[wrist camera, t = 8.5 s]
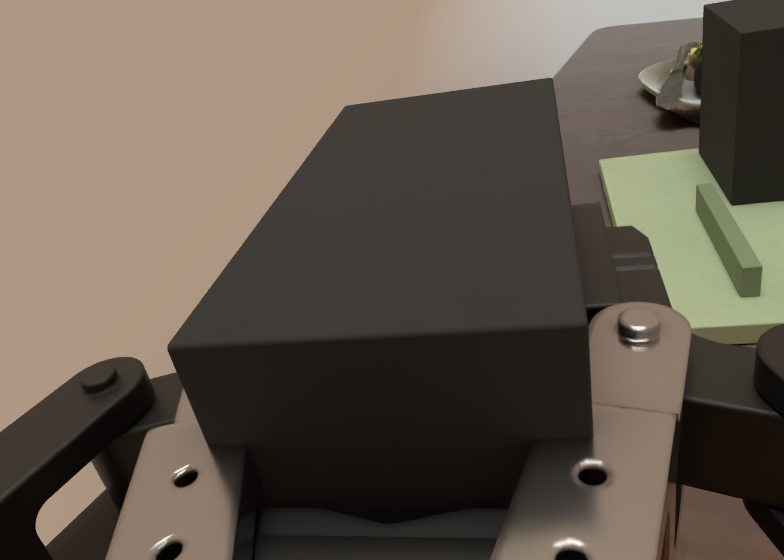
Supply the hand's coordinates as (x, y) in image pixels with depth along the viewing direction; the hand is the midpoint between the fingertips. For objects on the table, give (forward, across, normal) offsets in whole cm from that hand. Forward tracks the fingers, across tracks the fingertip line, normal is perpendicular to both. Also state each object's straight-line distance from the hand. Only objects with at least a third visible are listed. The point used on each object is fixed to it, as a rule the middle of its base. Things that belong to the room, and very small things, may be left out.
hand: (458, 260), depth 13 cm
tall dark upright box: (-3, 0, +6) cm, 7 cm away
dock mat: (+23, -13, +12) cm, 29 cm away
